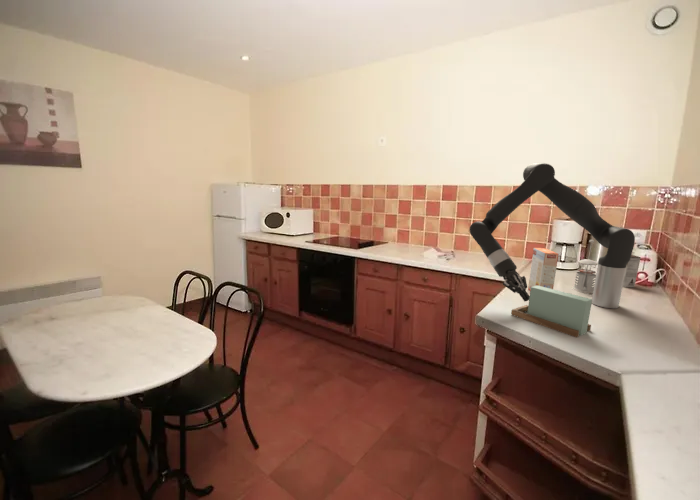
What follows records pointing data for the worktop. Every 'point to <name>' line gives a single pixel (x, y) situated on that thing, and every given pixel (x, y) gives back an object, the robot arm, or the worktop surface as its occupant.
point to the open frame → (545, 321)
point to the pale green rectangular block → (560, 307)
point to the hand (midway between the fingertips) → (528, 300)
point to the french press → (585, 276)
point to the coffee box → (631, 271)
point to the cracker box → (543, 268)
